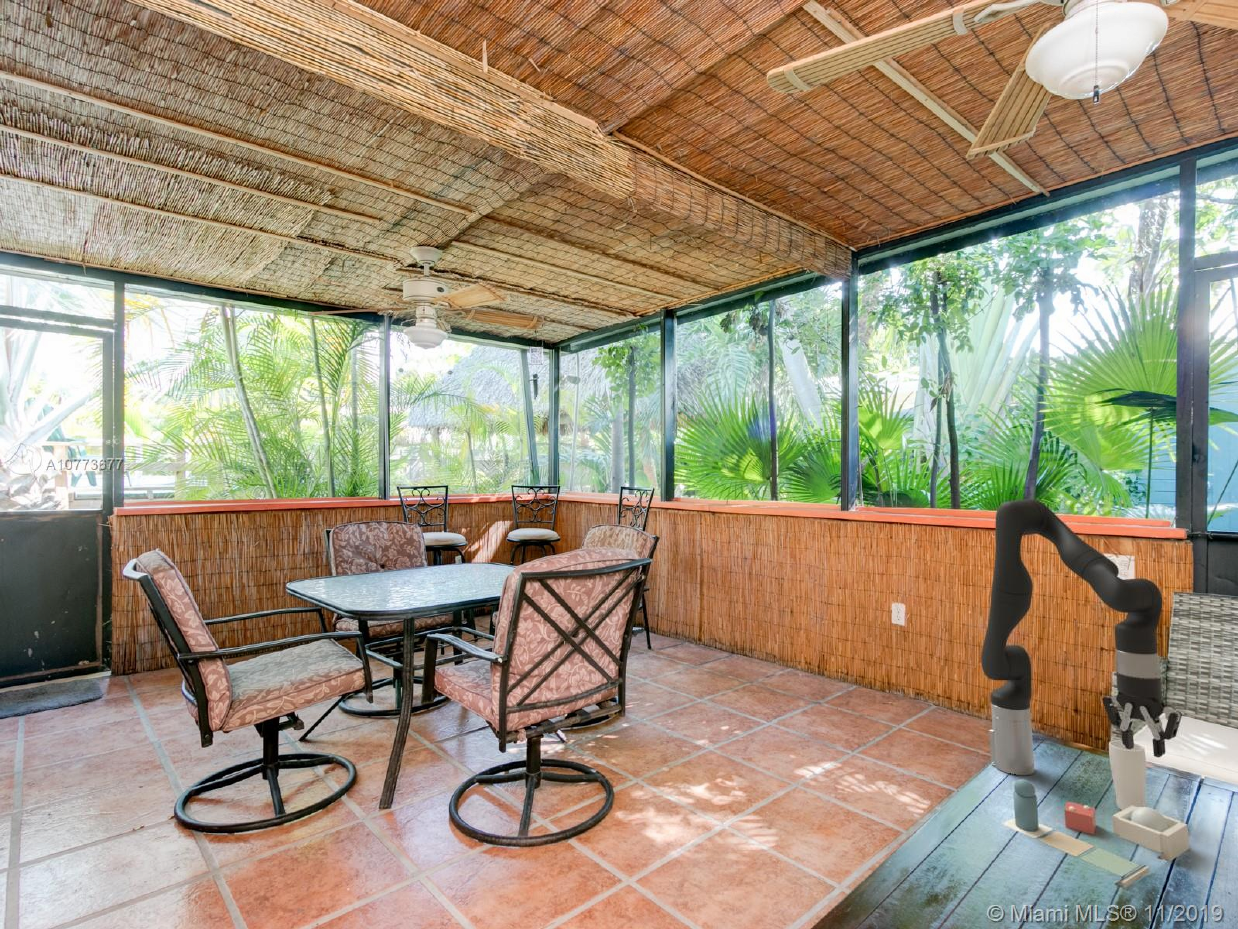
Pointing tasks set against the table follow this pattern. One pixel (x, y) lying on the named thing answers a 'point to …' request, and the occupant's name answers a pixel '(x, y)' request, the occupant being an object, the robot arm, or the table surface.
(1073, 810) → the red die
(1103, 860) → the game board
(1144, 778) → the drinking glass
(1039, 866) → the table surface
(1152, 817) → the pale grey egg
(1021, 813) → the slate blue cylinder
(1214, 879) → the table surface
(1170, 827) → the dome collar
